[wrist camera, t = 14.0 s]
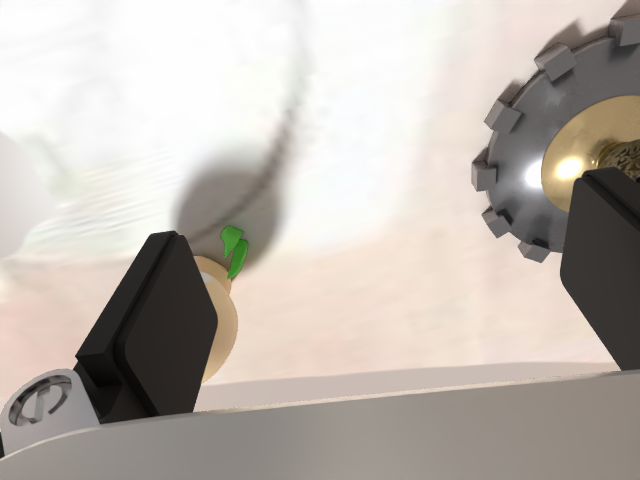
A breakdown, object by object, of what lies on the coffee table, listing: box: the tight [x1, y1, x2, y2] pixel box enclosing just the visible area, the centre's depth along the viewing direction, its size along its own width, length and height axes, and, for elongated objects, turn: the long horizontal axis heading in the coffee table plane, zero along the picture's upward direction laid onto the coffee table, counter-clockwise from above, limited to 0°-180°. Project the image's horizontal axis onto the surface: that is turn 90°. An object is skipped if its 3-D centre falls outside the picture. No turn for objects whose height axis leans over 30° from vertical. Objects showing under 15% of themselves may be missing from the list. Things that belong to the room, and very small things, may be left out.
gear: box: [471, 14, 640, 263], centre depth 38 cm, size 22×22×2 cm
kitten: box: [193, 226, 248, 384], centre depth 41 cm, size 15×10×15 cm, turn 143°
